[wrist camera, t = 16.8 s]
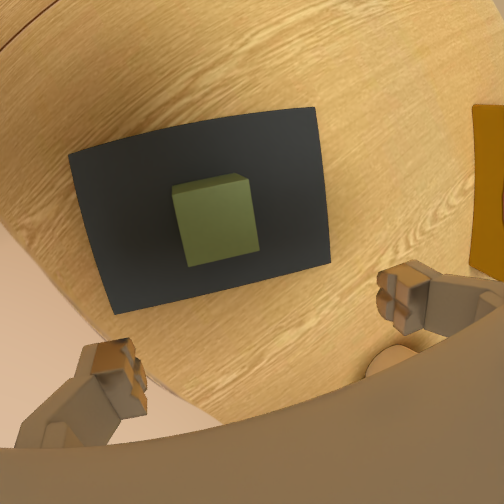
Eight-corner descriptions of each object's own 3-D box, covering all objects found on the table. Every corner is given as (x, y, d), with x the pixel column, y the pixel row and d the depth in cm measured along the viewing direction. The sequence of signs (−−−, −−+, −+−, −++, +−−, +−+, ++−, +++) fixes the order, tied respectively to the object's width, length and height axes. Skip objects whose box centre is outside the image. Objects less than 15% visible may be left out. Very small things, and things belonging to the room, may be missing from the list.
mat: (115, 312, 26) (114, 315, 26) (69, 154, 21) (67, 154, 21) (329, 261, 30) (331, 262, 29) (313, 107, 25) (315, 106, 24)
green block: (185, 246, 26) (188, 267, 21) (171, 185, 24) (171, 194, 20) (245, 233, 26) (259, 250, 22) (235, 172, 25) (248, 178, 20)
